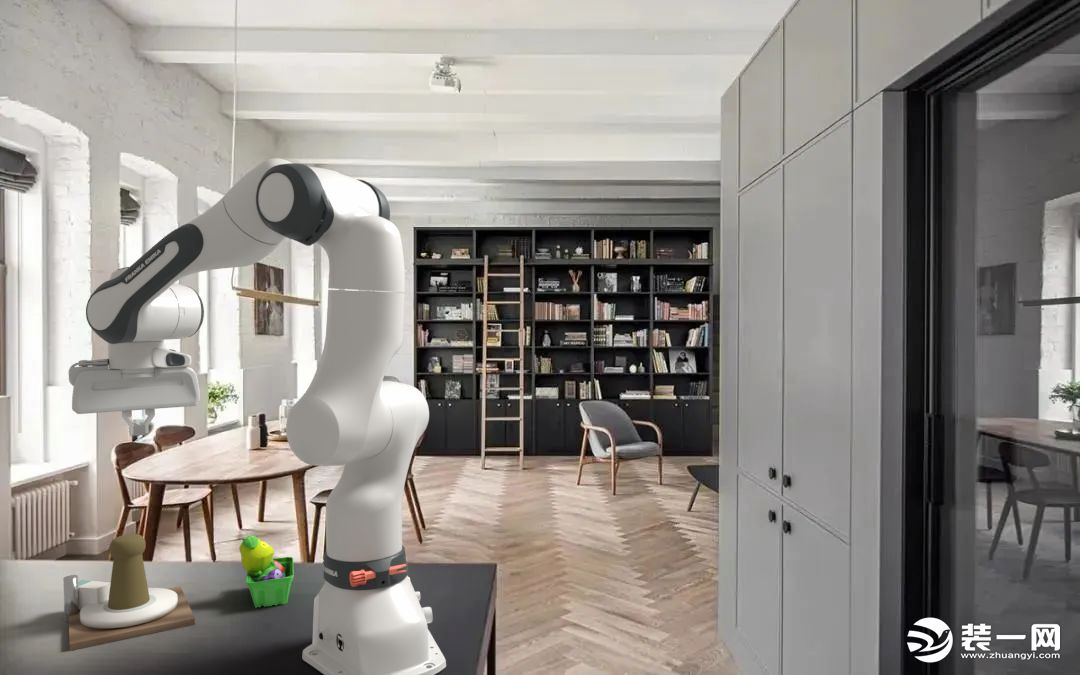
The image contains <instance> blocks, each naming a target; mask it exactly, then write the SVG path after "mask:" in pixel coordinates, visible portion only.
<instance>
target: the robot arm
mask: <svg viewBox="0 0 1080 675" xmlns="http://www.w3.org/2000/svg"><path fill="white" fill-rule="evenodd" d="M390 219H391V208H390V204H389V201H388V199H387V197H386V195H385V194H384V193H383V192H382V190H380V189H379V188H378V187H376V186H375V185H374V184H371V183H370V182H369V181H366V180H363V179H357V178H355V177H353V176H352V177H351V176H348V175H346V174H342V173H340V172H339V171H336V170H333V169H328V168H324V167H323V168H322V167H315V166H308V165H306V164H304V163H303V164H302V163H295V162H294V163H293V162H291V161H289V160H287V159H284V158H277V157H275V158H268V159H266V160H264V161H262V162H260V163H258V165H256V166H255V167H254V168H252V169H251V170H250V171H248V172H247V173H246V174H245V175H243V176H242V177H241V178H239V180H237V182H236V183H235V184H233V186H232V187H231V188H230V189H229V190H228V191H227V192H226V193H225V194H224V195H223V196H222V197H221V198H220V200H219V201H217V202H216V203H215V204H214V205H212V206H211V207H210V208H208V209H207V210H206V211H204V212H203V213H202V214H200V215H199V216H197V217H196V218H194V219H192V220H190V221H189V222H187V223H186V224H183V225H181V226H179V227H177V228H176V229H174V230H172V231H171V232H169V233H168V234H166V235H165V236H164V237H163V238H161V239H160V240H159V241H158V242H156V243H155V244H154V245H153V246H152V247H150V249H149V250H147V251H146V252H145V253H144V254H143V255H141V256H140V258H138V259H137V260H136V261H135V262H134V263H133V264H131V265H130V266H125V267H122V268H121V267H120V268H118V269H116V270H115V271H113V272H112V273H111V274H110V278H109V280H107V281H104V282H103V283H101V284H100V285H99V286H98V287H97V288H96V289H95V290H94V291H93V292H92V294H91V295H90V296H89V299H88V300H87V303H86V306H85V317H86V322H87V323H88V325H89V327H90V328H91V329H92V331H93V332H94V333H95V334H96V335H97V337H98V336H99V338H101V339H102V340H103V341H104V342H107V349H108V350H107V354H108V355H107V356H108V357H107V359H106V358H104V359H103V358H102V359H101V358H99V359H93V360H92V359H91V360H88V359H82V360H78V362H75V363H73V364H72V365H71V366H70V367H69V369H68V381H69V383H70V385H72V387H73V389H72V397H71V398H72V399H71V409H72V411H73V412H74V413H75V414H77V415H85V414H98V413H99V414H100V413H101V414H102V413H112V412H114V413H115V412H121V417H122V419H123V420H124V421H125V423H126V424H127V425H128V427H129V428H128V429H129V430H128V431H129V436H130V437H137V436H146V435H149V432H150V430H149V425H150V424H151V422H152V421H153V419H154V417H155V415H156V411H155V410H156V409H172V408H183V407H184V408H185V407H196V406H197V405H198V404H199V403H200V401H201V393H200V392H201V390H200V385H199V384H200V383H199V379H198V375H197V373H196V371H195V370H194V369H192V367H190V366H191V365H192V356H191V355H190V354H187V353H184V352H180V351H177V350H175V349H167V348H165V342H164V340H165V341H166V340H181V339H183V340H184V339H186V338H190V337H192V336H194V335H195V334H197V332H199V330H200V329H201V327H202V324H203V322H204V318H205V307H204V303H203V300H202V298H201V297H200V295H199V293H198V292H197V291H196V290H195V289H194V288H193V287H191V286H186V285H183V284H179V283H177V282H178V281H179V280H180V279H183V278H184V277H187V276H190V275H193V274H196V273H200V272H204V271H205V272H206V271H212V270H220V269H230V268H231V269H234V268H241V267H242V268H243V267H248V266H251V265H253V264H254V265H255V264H256V263H258V262H260V261H261V260H263V259H264V258H266V257H267V256H269V255H270V254H272V253H273V252H274V251H275V250H276V249H277V248H278V247H279V246H280V244H282V243H283V241H284V240H285V239H287V238H288V239H290V240H293V241H296V242H298V243H300V244H301V245H304V246H306V247H309V246H312V245H314V244H318V245H319V246H320V247H321V248H322V249H323V250H324V251H325V253H326V254H327V258H328V285H327V288H328V289H327V309H326V310H327V312H326V328H325V339H324V344H323V349H322V353H321V355H320V356H321V357H320V360H319V363H318V365H317V368H316V370H315V373H314V375H313V378H312V380H311V382H310V384H309V385H308V388H307V389H306V391H305V393H304V394H303V395H302V396H301V397H300V398H299V399H298V400H297V401H296V402H295V403H294V404H293V406H292V408H291V409H290V410H289V413H288V415H287V417H286V418H287V419H286V422H285V433H286V434H285V435H286V440H287V443H288V445H289V448H290V450H291V451H292V452H293V454H294V456H295V457H297V459H298V460H300V461H301V462H303V463H305V464H306V465H309V466H317V467H318V466H319V467H320V466H321V467H335V466H336V467H337V466H344V467H343V470H342V474H341V475H340V477H339V480H338V482H337V484H336V485H335V486H334V488H333V489H332V490H331V492H330V493H329V495H328V498H327V499H326V503H325V543H326V546H325V547H326V548H325V549H326V550H325V552H324V554H323V561H322V569H323V579H324V580H325V581H324V583H323V585H322V587H321V589H320V590H319V592H318V593H317V594H316V596H315V597H314V600H313V614H312V615H313V617H312V619H313V620H312V643H311V644H310V645H308V646H306V647H305V648H304V649H302V657H301V658H302V660H303V661H304V662H306V663H307V664H308V665H310V666H311V667H313V669H315V670H317V671H319V672H320V673H322V674H323V675H436V674H438V673H440V672H442V671H443V670H444V669H445V668H446V667H447V663H446V662H447V660H446V658H445V656H444V654H443V652H442V651H441V649H440V647H439V646H438V644H437V642H436V641H435V639H434V637H433V635H432V633H431V631H430V630H429V629H428V628H429V627H428V624H431V623H433V620H434V617H433V615H434V614H433V610H432V606H431V607H430V606H424V607H422V605H421V604H420V601H421V592H420V591H415V588H414V586H413V584H412V582H411V578H410V577H409V576H408V575H409V568H408V567H409V566H408V562H409V561H408V556H407V554H406V548H405V546H404V545H403V501H404V500H403V498H404V490H405V485H406V484H405V483H406V480H407V476H408V471H409V468H410V464H411V460H412V456H413V453H414V450H415V448H416V446H417V443H418V442H419V440H420V438H421V437H422V435H423V434H424V433H425V432H426V431H425V430H426V429H427V427H428V424H429V421H430V409H429V404H428V402H427V399H426V398H425V396H424V395H423V393H422V392H421V391H420V390H419V389H418V388H416V386H413V385H411V384H408V383H403V382H398V381H391V380H384V377H385V375H386V372H387V369H388V366H389V365H390V363H391V361H392V359H393V358H394V357H395V356H396V355H397V353H398V352H399V351H400V349H401V348H402V345H403V341H404V332H405V331H404V326H405V301H406V300H405V299H406V298H405V296H406V268H405V258H404V257H405V256H404V248H403V242H402V236H401V232H400V231H399V229H398V227H397V225H396V224H394V223H393V222H392V221H390ZM141 410H143V411H144V415H145V416H147V417H146V418H145V421H144V422H143V423H141V424H133V422H132V420H131V419H130V418H129V417H132V414H133V413H132V411H141Z"/></svg>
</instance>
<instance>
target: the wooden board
mask: <svg viewBox="0 0 1080 675" xmlns="http://www.w3.org/2000/svg"><path fill="white" fill-rule="evenodd" d="M168 589H169V590H172V591H174V592H176V593H177V597H178V604H177V606H176V608H175V609H174V610H173V611H171V612H170V613H168V614H166V615H164V616H162V617H160V618H157V619H155V620H152V621H149V622H145V623H142V624H137V625H133V626H127V627H120V628H106V629H105V628H92V627H87V626H85V625H83V624H82V623H81V622H80V610H79V613H78V614H75V615H71V616H69V622H68V635H69V636H68V638H69V639H68V640H69V645H68V646H69V652H70V651H75V650H80V649H83V648H88V647H93V646H98V645H103V644H107V643H113V642H118V641H122V640H127V639H132V638H137V637H142V636H145V635H146V636H147V635H151V634H155V633H160V632H165V631H169V630H170V631H171V630H174V629H179V628H184V627H188V626H194V625H195V624H196V622H195V621H196V620H195V615H194V614H193V611H192V609H191V607H190V604H189V603H188V600H187V598H186V595H185V594H184V591H183V589H182V587H181V586H180V585H179V586H176V587H170V588H168Z"/></svg>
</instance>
